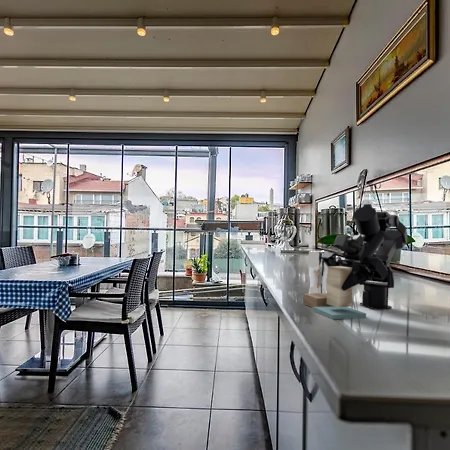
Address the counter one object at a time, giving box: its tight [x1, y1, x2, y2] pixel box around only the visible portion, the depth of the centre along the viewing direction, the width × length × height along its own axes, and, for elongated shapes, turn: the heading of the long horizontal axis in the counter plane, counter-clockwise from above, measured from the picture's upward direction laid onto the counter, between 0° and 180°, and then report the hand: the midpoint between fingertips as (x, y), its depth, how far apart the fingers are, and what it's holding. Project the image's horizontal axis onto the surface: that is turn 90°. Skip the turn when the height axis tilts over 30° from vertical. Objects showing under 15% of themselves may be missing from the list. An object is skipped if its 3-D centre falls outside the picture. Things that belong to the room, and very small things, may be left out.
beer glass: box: [307, 250, 329, 294], centre depth 119 cm, size 7×7×15 cm
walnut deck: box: [302, 292, 332, 309], centre depth 101 cm, size 8×7×3 cm
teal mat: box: [312, 306, 367, 320], centre depth 91 cm, size 10×9×1 cm
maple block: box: [326, 266, 353, 308], centre depth 92 cm, size 4×4×10 cm
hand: (335, 287), depth 91 cm, fingers closed on maple block, 4 cm apart
